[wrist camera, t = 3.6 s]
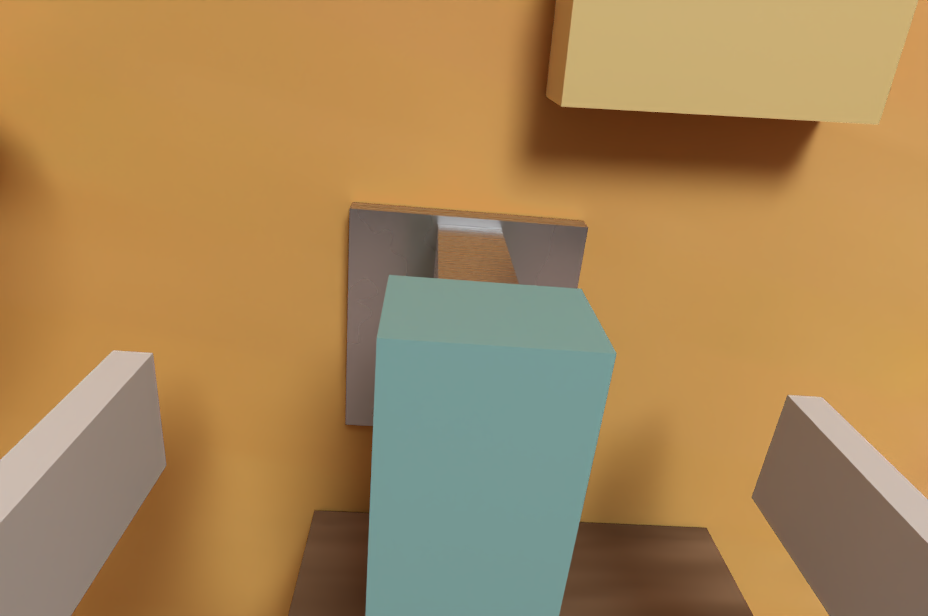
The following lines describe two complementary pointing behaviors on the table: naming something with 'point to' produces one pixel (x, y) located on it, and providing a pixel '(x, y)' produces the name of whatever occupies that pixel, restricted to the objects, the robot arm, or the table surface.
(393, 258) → the stand
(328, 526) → the coin box
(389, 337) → the teal rectangular block
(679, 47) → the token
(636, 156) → the table surface
